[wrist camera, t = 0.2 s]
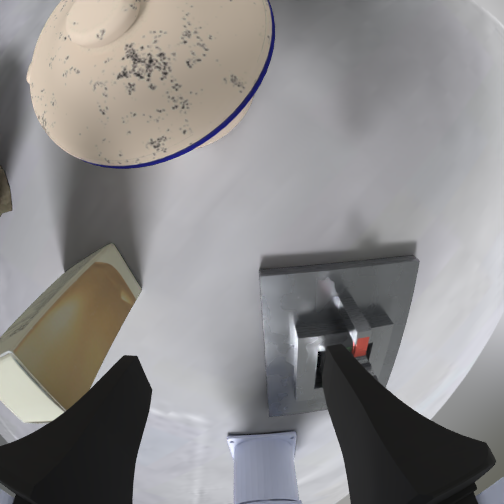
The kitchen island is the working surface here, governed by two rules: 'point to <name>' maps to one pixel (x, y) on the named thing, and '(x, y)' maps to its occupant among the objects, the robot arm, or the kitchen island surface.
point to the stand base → (331, 323)
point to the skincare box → (65, 337)
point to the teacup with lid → (147, 75)
